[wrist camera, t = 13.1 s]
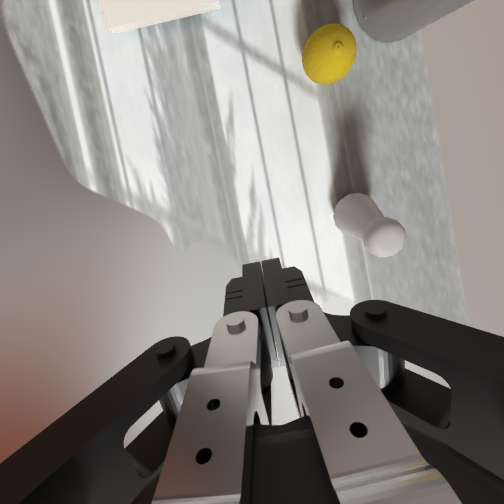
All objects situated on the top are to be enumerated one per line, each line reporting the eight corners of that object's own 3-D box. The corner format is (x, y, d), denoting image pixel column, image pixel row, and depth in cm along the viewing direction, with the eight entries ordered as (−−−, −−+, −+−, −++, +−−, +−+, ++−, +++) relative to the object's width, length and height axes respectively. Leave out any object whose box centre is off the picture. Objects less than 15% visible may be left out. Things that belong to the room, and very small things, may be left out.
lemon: (318, 24, 36) (338, -3, 29) (352, 58, 38) (379, 41, 30) (287, 66, 38) (298, 52, 31) (320, 98, 39) (339, 91, 32)
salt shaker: (333, 187, 44) (368, 211, 32) (374, 191, 44) (423, 216, 32) (326, 227, 46) (356, 264, 34) (364, 231, 46) (408, 268, 34)
